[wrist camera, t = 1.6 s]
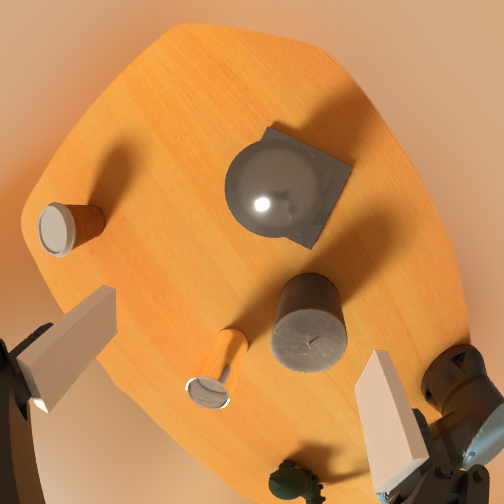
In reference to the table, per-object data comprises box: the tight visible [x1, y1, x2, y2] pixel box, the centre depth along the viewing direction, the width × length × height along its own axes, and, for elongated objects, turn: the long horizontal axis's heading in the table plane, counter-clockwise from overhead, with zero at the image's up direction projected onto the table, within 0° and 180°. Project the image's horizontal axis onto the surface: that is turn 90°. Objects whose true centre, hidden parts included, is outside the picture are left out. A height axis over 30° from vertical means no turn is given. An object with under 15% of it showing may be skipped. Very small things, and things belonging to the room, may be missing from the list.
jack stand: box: [261, 126, 353, 250], centre depth 37 cm, size 14×14×12 cm
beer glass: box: [186, 329, 248, 410], centre depth 44 cm, size 7×7×15 cm
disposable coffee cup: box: [38, 202, 105, 257], centre depth 45 cm, size 10×10×12 cm
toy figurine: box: [269, 461, 326, 504], centre depth 49 cm, size 9×19×25 cm
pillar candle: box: [271, 273, 347, 373], centre depth 39 cm, size 10×10×15 cm
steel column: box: [225, 139, 324, 238], centre depth 29 cm, size 6×6×24 cm
